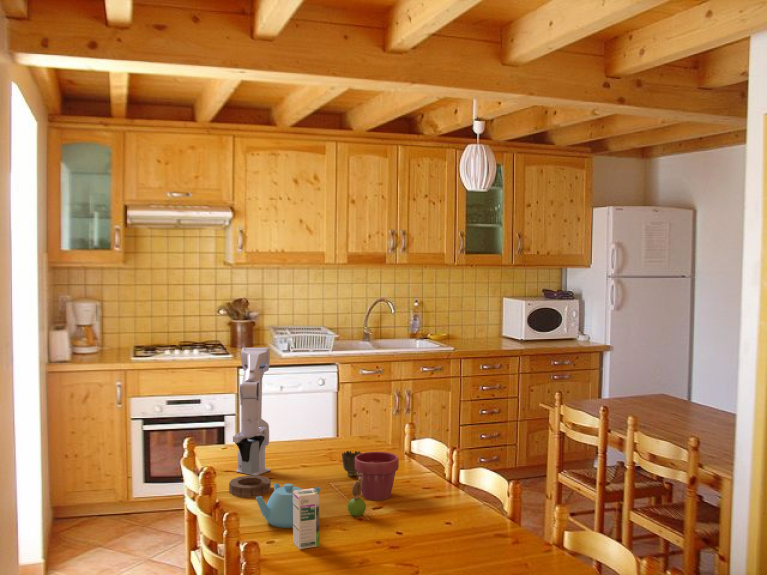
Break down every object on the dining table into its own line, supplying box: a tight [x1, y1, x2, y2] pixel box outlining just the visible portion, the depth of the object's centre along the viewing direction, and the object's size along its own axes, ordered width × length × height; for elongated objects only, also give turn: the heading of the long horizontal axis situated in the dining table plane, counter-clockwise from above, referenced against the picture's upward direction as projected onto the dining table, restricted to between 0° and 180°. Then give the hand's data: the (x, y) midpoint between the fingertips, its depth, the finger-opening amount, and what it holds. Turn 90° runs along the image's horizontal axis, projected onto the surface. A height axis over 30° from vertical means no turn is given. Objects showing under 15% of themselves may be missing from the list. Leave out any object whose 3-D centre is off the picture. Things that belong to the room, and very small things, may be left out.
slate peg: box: [242, 439, 259, 475], centre depth 246 cm, size 4×4×10 cm
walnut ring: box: [228, 475, 272, 498], centre depth 247 cm, size 13×13×3 cm
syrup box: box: [292, 487, 320, 550], centre depth 202 cm, size 6×6×14 cm
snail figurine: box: [347, 473, 367, 517], centre depth 225 cm, size 5×6×12 cm
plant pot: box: [355, 451, 400, 501], centre depth 242 cm, size 14×14×13 cm
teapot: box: [255, 483, 321, 529], centre depth 220 cm, size 15×15×11 cm
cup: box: [341, 450, 362, 478], centre depth 264 cm, size 8×7×8 cm
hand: (250, 459), depth 247 cm, fingers closed on slate peg, 4 cm apart
